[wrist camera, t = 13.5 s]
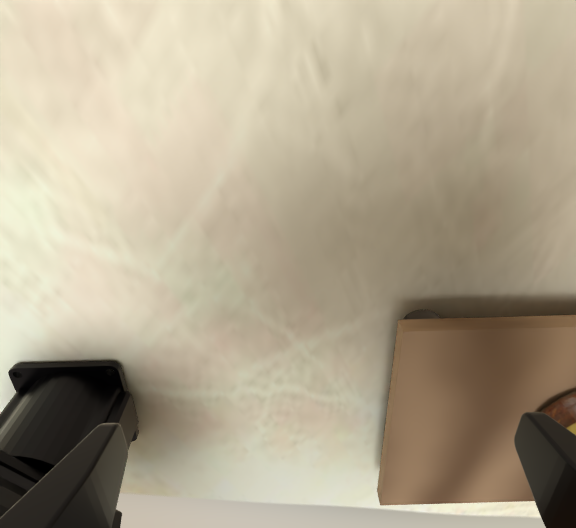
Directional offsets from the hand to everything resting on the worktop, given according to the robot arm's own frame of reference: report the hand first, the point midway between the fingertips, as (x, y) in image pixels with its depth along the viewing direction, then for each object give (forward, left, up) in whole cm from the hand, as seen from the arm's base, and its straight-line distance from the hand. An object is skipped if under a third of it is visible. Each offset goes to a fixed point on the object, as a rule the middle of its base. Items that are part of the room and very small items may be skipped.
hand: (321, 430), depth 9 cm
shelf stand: (+16, -12, -13) cm, 24 cm away
